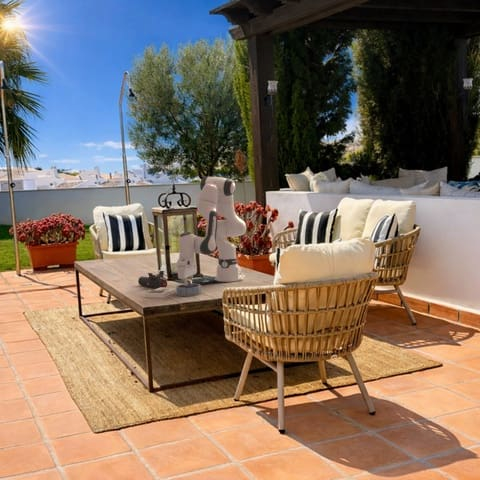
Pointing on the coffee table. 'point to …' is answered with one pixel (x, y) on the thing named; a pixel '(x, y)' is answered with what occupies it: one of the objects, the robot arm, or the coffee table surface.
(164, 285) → the laser sight
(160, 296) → the cradle
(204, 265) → the coffee table surface
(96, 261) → the coffee table surface
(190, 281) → the cell
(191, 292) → the blue-gray round bowl
